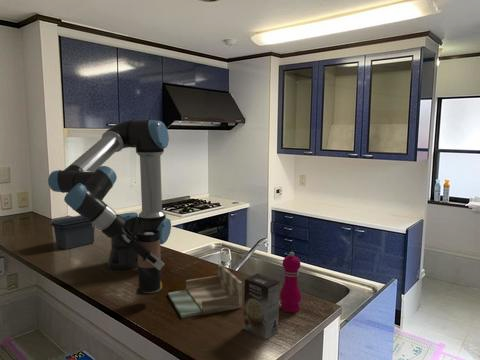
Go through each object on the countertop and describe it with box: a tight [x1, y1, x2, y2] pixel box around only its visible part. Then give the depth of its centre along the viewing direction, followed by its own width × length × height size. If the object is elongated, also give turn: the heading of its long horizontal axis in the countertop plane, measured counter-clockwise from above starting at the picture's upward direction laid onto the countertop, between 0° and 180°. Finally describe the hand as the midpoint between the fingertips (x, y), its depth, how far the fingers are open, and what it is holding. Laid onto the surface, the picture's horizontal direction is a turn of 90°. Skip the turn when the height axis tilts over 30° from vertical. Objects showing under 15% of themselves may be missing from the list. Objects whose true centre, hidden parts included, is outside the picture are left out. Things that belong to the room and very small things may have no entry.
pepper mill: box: [279, 251, 302, 314], centre depth 126 cm, size 7×7×20 cm
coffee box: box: [243, 273, 281, 340], centre depth 111 cm, size 9×6×16 cm
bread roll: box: [143, 280, 163, 294], centre depth 142 cm, size 8×9×4 cm
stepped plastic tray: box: [167, 263, 243, 319], centre depth 131 cm, size 20×21×9 cm
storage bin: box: [50, 214, 96, 250], centre depth 197 cm, size 21×16×14 cm
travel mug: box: [137, 230, 162, 293], centre depth 128 cm, size 8×8×20 cm
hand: (159, 263), depth 130 cm, fingers closed on travel mug, 7 cm apart
